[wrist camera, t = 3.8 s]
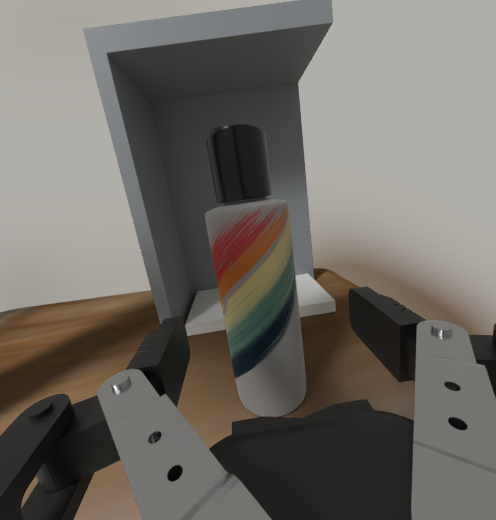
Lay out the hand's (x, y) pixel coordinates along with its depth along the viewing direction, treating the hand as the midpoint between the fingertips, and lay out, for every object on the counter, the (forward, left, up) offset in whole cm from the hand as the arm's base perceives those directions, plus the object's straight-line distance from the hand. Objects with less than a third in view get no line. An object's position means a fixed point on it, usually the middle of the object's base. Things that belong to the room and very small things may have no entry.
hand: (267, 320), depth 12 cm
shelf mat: (+1, +23, -10) cm, 25 cm away
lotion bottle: (0, +7, -10) cm, 12 cm away
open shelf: (0, +24, -10) cm, 26 cm away
